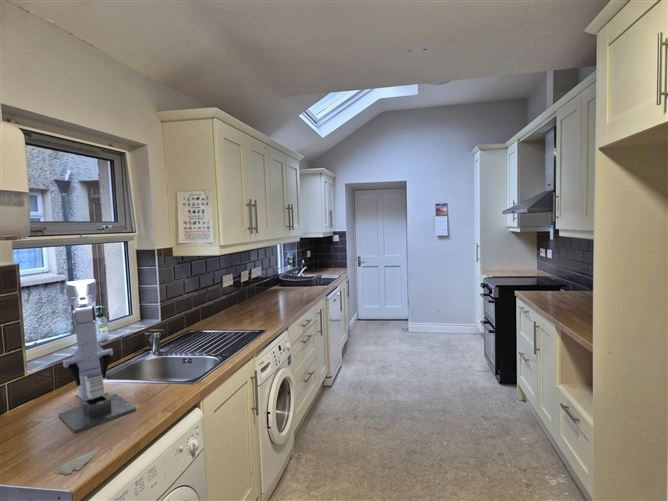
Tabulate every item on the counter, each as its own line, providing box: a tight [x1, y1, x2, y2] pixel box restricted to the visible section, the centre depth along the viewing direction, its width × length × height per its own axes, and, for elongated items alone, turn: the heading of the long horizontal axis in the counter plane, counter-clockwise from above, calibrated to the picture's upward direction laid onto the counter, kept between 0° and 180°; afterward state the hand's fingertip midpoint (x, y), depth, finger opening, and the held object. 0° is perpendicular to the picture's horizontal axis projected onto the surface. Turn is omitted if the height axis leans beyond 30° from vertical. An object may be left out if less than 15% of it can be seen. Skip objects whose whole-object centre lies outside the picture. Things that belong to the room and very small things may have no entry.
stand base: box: [58, 394, 137, 434], centre depth 133 cm, size 18×18×5 cm
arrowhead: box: [54, 451, 97, 476], centre depth 105 cm, size 7×2×10 cm
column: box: [85, 372, 105, 399], centre depth 132 cm, size 4×4×7 cm
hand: (91, 381), depth 135 cm, fingers open, 7 cm apart
